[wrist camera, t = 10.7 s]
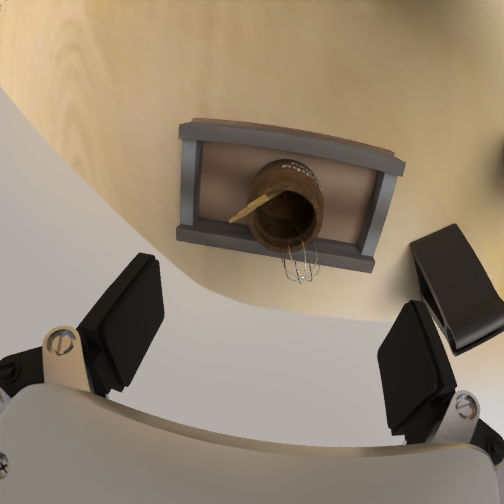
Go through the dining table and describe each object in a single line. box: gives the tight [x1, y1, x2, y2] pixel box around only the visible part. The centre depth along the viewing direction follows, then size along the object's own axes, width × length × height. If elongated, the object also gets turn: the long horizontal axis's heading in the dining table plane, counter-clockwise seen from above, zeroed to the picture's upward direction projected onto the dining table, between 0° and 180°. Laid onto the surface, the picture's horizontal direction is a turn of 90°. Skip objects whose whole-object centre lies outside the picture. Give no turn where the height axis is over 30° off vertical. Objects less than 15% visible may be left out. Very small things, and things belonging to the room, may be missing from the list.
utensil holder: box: [229, 159, 324, 284], centre depth 19 cm, size 6×6×12 cm
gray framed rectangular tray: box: [176, 118, 406, 273], centre depth 24 cm, size 11×18×4 cm, turn 83°
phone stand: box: [411, 224, 504, 356], centre depth 22 cm, size 9×6×12 cm, turn 28°
